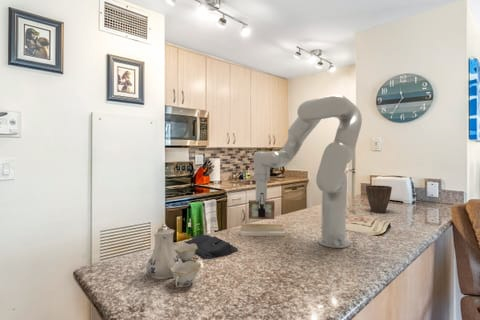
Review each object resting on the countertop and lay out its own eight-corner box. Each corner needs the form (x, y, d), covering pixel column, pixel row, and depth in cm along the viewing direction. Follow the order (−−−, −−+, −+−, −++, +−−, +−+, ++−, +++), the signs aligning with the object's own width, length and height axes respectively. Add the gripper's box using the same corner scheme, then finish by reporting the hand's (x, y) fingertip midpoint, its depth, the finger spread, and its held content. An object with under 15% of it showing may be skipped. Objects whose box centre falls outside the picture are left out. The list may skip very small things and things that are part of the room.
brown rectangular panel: (273, 217, 136) (273, 200, 136) (274, 219, 132) (274, 202, 132) (248, 216, 137) (248, 200, 136) (248, 218, 133) (248, 201, 132)
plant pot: (361, 211, 178) (361, 186, 178) (371, 208, 188) (371, 184, 188) (386, 215, 167) (386, 188, 167) (395, 211, 177) (395, 186, 177)
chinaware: (205, 296, 79) (211, 236, 79) (142, 298, 74) (148, 235, 74) (193, 259, 105) (198, 215, 105) (147, 259, 101) (151, 213, 101)
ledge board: (281, 228, 140) (281, 222, 140) (284, 235, 128) (284, 229, 128) (241, 228, 141) (241, 222, 141) (240, 235, 129) (240, 229, 129)
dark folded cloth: (211, 239, 126) (211, 228, 126) (241, 253, 108) (240, 240, 108) (179, 246, 117) (179, 234, 117) (206, 262, 99) (206, 249, 99)
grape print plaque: (317, 233, 144) (382, 242, 126) (317, 221, 143) (382, 229, 125) (336, 218, 166) (393, 224, 148) (335, 208, 166) (393, 213, 147)
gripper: (253, 175, 142) (253, 211, 143) (254, 179, 125) (253, 220, 126) (268, 175, 142) (268, 212, 143) (271, 179, 125) (270, 220, 126)
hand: (261, 215), depth 134 cm, fingers closed on brown rectangular panel, 4 cm apart
